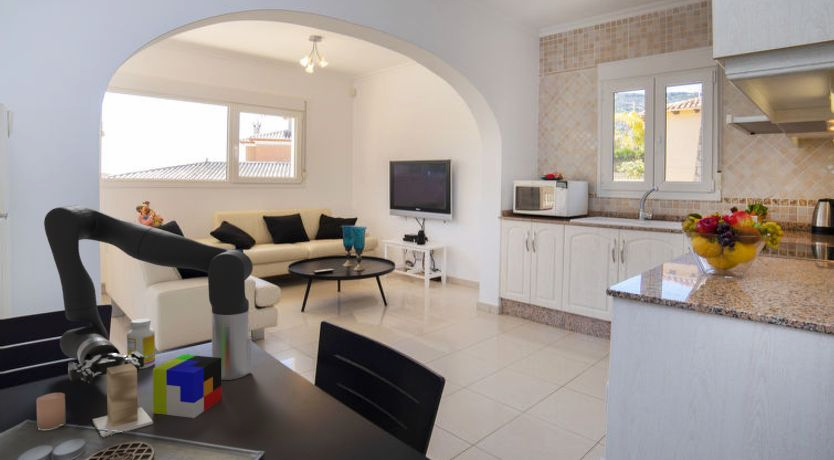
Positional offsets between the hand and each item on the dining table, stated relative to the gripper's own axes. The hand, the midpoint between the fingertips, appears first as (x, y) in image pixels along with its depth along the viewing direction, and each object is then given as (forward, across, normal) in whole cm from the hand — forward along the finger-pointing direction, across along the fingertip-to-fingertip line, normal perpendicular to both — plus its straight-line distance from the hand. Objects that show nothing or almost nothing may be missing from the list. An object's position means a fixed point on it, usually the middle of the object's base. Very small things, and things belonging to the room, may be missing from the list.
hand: (114, 373), depth 104 cm
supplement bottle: (-28, +12, +9) cm, 31 cm away
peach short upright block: (-1, -11, +8) cm, 14 cm away
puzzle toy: (+8, +13, +9) cm, 17 cm away
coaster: (+7, 0, +8) cm, 11 cm away
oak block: (+7, 0, +8) cm, 11 cm away
